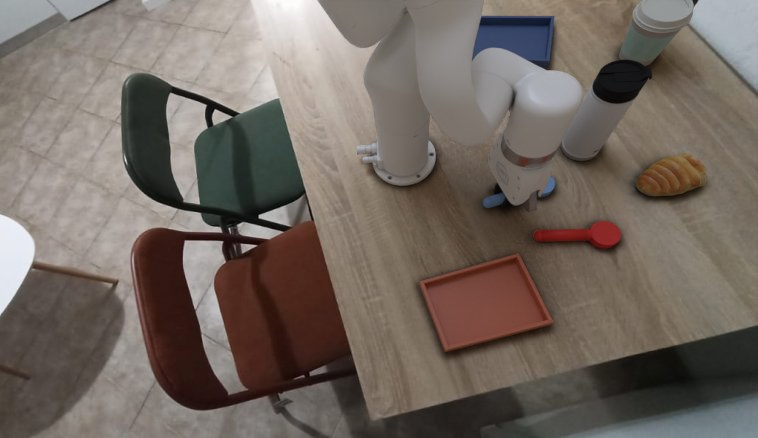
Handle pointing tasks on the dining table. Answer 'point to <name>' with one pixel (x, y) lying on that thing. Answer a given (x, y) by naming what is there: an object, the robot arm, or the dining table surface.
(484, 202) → the blue spoon
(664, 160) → the pastry
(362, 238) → the dining table surface
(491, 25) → the back tray
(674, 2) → the coffee cup
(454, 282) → the front tray
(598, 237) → the red spoon
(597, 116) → the travel mug
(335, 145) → the dining table surface
